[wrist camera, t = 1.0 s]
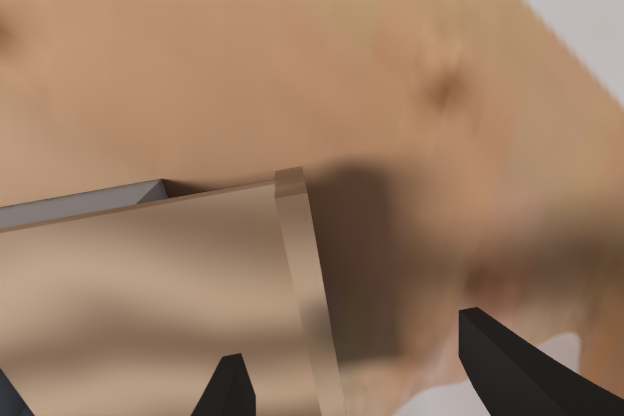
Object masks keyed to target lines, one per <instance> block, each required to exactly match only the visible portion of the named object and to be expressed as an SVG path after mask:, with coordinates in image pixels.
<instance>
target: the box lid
mask: <svg viewBox="0 0 624 416" xmlns="http://www.w3.org/2000/svg"><path fill="white" fill-rule="evenodd" d="M238 353H241V354H242V357H243V360H244V363H245V366H246V369H247V371H248V374H249V377H250V380H251V383H252V386H253V389H254V392H255V395H256V416H347V415H346V410H345V404H344V398H343V392H342V387H341V381H340V375H339V370H338V364H337V358H336V352H335V347H334V341H333V335H332V330H331V324H330V318H329V313H328V307H327V301H326V295H325V290H324V284H323V278H322V273H321V267H320V261H319V256H318V250H317V244H316V238H315V233H314V227H313V221H312V216H311V210H310V204H309V199H308V193H307V188H306V183H305V179H304V174H303V169H302V167H296V168H290V169H285V170H279V171H276V174H275V180H270V181H264V182H258V183H253V184H247V185H242V186H236V187H230V188H225V189H219V190H214V191H208V192H202V193H197V194H191V195H186V196H180V197H174V198H169V199H163V200H158V201H152V202H146V203H141V204H135V205H130V206H124V207H118V208H113V209H107V210H102V211H96V212H90V213H85V214H79V215H74V216H68V217H62V218H57V219H51V220H46V221H40V222H34V223H29V224H23V225H18V226H12V227H6V228H1V229H0V368H1V369H2V371H3V372H4V373H5V375H6V376H7V378H8V379H9V380H10V382H11V383H12V384H13V386H14V387H15V389H16V390H17V391H18V393H19V394H20V396H21V397H22V398H23V400H24V401H25V403H26V404H27V405H28V407H29V408H30V409H31V411H32V412H33V414H34V415H35V416H190V415H191V414H192V412H193V410H194V408H195V406H196V405H197V403H198V401H199V399H200V398H201V396H202V394H203V392H204V390H205V388H206V386H207V384H208V383H209V381H210V379H211V377H212V375H213V373H214V371H215V369H216V367H217V365H218V363H219V361H220V359H221V358H222V357H223V356H228V355H233V354H238Z"/></svg>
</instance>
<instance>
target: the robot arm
mask: <svg viewBox="0 0 624 416" xmlns="http://www.w3.org/2000/svg"><path fill="white" fill-rule="evenodd" d="M459 358H460V360H461V363H462V365H463V367H464V369H465V371H466V373H467V375H468V377H469V379H470V381H471V383H472V385H473V387H474V389H475V391H476V392H477V394H478V396H479V397H480V399H481V400H482V402H483V404H484V405H485V407H486V408H487V410H488V412H489V413H490V415H491V416H624V399H622V398H620V397H618V396H616V395H614V394H612V393H611V392H609V391H607V390H605V389H603V388H601V387H599V386H598V385H596V384H594V383H592V382H591V381H589V380H587V379H585V378H584V377H582V376H580V375H579V374H577V373H575V372H573V371H572V370H570V369H569V368H567V367H565V366H564V365H562V364H560V363H559V362H557V361H556V360H554V359H553V358H551V357H549V356H548V355H546V354H545V353H543V352H542V351H540V350H539V349H537V348H536V347H534V346H533V345H531V344H530V343H528V342H527V341H525V340H524V339H522V338H521V337H519V336H518V335H517V334H515V333H514V332H512V331H511V330H509V329H508V328H506V327H505V326H504V325H502V324H501V323H499V322H498V321H497V320H495V319H494V318H492V317H491V316H489V315H488V314H487V313H485V312H484V311H482V310H481V309H480V308H478V307H474V308H469V309H464V310H459ZM190 416H256V395H255V392H254V389H253V386H252V383H251V380H250V377H249V374H248V371H247V369H246V366H245V363H244V360H243V357H242V354H241V353H238V354H233V355H228V356H223V357H222V358H221V359H220V361H219V363H218V365H217V367H216V369H215V371H214V373H213V375H212V377H211V379H210V381H209V383H208V384H207V386H206V388H205V390H204V392H203V394H202V396H201V398H200V399H199V401H198V403H197V405H196V406H195V408H194V410H193V412H192V414H191V415H190Z"/></svg>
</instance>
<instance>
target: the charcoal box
mask: <svg viewBox="0 0 624 416" xmlns="http://www.w3.org/2000/svg"><path fill="white" fill-rule="evenodd" d="M163 199H168V196H167V193H166V191H165V188H164V185H163V182H162V179H158V180H152V181H146V182H141V183H135V184H130V185H124V186H118V187H113V188H107V189H101V190H96V191H90V192H84V193H79V194H73V195H68V196H62V197H56V198H51V199H45V200H39V201H34V202H28V203H23V204H17V205H11V206H6V207H0V229H1V228H6V227H12V226H18V225H23V224H29V223H34V222H40V221H46V220H51V219H57V218H62V217H68V216H74V215H79V214H85V213H90V212H96V211H102V210H107V209H113V208H118V207H124V206H130V205H135V204H141V203H146V202H152V201H158V200H163ZM0 416H35V415H34V414H33V412H32V411H31V409H30V408H29V407H28V405H27V404H26V403H25V401H24V400H23V398H22V397H21V396H20V394H19V393H18V391H17V390H16V389H15V387H14V386H13V384H12V383H11V382H10V380H9V379H8V378H7V376H6V375H5V373H4V372H3V371H2V369H1V368H0Z"/></svg>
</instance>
